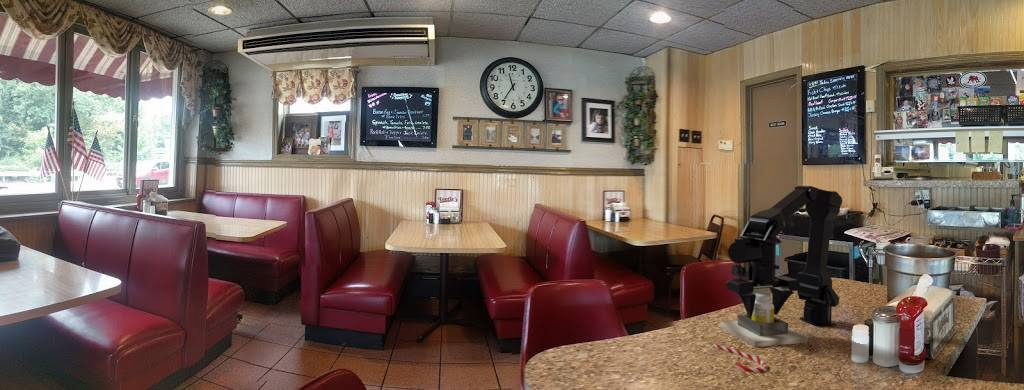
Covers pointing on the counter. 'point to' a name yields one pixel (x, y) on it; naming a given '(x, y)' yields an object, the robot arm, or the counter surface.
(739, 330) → the holder board
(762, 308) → the supplement bottle
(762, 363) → the candy cane
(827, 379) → the counter surface
